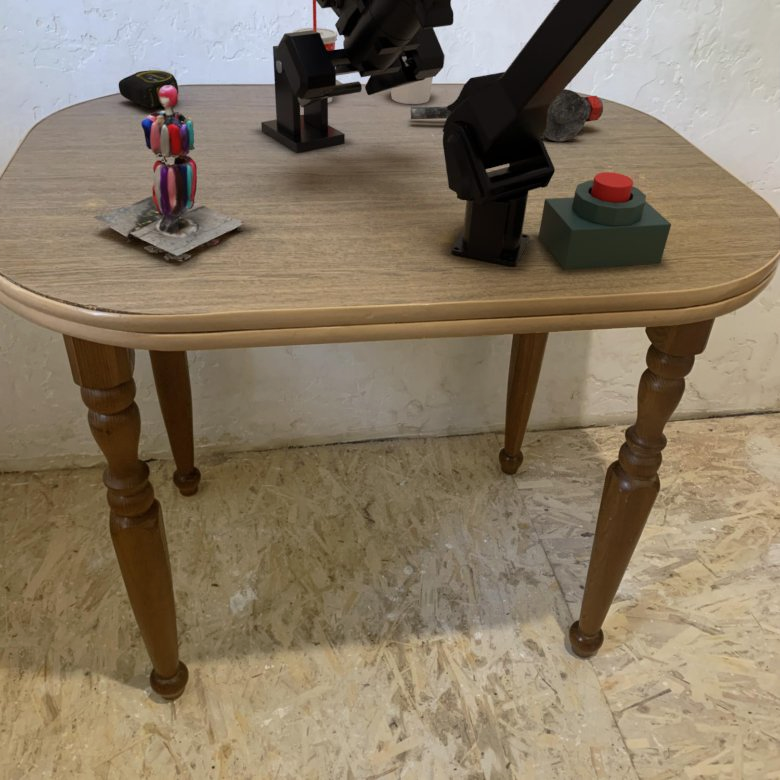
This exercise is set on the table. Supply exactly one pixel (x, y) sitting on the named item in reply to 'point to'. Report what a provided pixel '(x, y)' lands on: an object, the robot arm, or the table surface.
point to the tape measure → (146, 87)
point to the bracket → (299, 118)
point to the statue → (171, 191)
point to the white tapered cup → (413, 92)
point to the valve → (562, 114)
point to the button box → (602, 230)
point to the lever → (345, 89)
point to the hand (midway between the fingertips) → (334, 96)
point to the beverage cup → (322, 34)
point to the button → (612, 187)
